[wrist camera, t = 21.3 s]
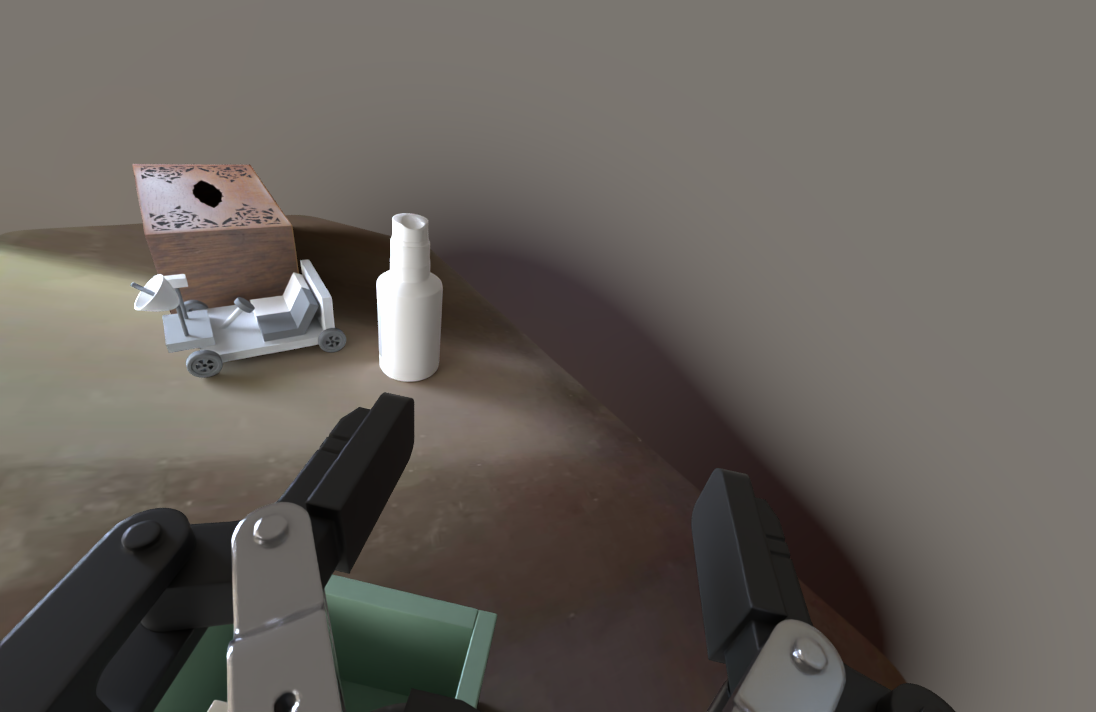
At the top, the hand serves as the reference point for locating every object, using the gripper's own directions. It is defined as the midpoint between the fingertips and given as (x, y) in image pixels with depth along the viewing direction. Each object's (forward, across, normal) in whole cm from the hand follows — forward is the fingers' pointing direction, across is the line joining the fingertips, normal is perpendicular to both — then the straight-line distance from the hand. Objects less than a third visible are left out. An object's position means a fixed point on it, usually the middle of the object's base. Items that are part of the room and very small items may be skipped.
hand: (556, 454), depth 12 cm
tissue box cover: (+48, +51, +26) cm, 75 cm away
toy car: (+32, +36, +26) cm, 55 cm away
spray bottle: (+34, +18, +27) cm, 47 cm away
